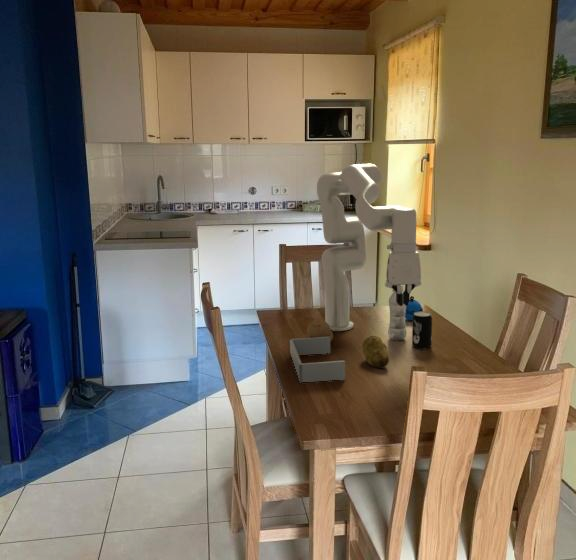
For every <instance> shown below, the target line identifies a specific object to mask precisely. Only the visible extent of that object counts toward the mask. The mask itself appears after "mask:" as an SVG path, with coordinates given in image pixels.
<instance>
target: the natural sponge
mask: <svg viewBox="0 0 576 560" xmlns="http://www.w3.org/2000/svg"><path fill="white" fill-rule="evenodd" d="M306 335H307V338H315V337H329V336H330V342H331V341H333V339H334V333H333V331H331V329H330V327H329V325H328V324H327V323H326V322H325V320H324V319H321V318H317V319H313V321H311V322H310V323H309V324H308V326H307V328H306Z"/></svg>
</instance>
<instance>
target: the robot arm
mask: <svg viewBox="0 0 576 560" xmlns="http://www.w3.org/2000/svg"><path fill="white" fill-rule="evenodd" d="M381 181H382V172H381V170H380V168H379V167H378V166H377V165H376V164H374V163H361V164H360V163H358V164H357V163H356V164H350V165H346V166H345V167H344V168H343V169H342V170H341V171H336V172H334V171H333V172H327V173H325V174H322V175H321V176H320V177H319V178H318V180H317V181H316V182H317V183H316V193H317V194H316V195H317V197H318V200H319V201H318V202H319V204H320V208H321V219H322V230H323V238H324V240H325V242H326V243H327V244H332V245H336V244H346V243H348V246H335V247H330V248H327V249H325V250H324V251H323V253H322V255H321V266H322V269H323V277H324V279H323V281H324V314H325V315H324V316H325V317H324V319H325V320H324V321H325V322H326V323H327V324H328V325H329V327H330V329H331V330H332V332H342V331H344V332H345V331H348V330H351V329H352V328H354V322H353V321H351V320H350V281H349V280H348V278H347V277H346V275H345V274H344V273H345V272H349V271H356V270H357V271H358V270H361V269H363V268H364V267H365V265H366V261H367V251H366V250H367V249H366V236H365V228H366V229H368V230H370V231H374V232H375V231H385V230H386V231H388V230H391V234H390V235H391V242H390V244H387V245H386V249H387V250H390V251H389V253H388V256H387V257H388V258H387V263H386V264H387V265H386V272H385V274H386V275H385V276H386V280H385V283H384V286H385V287H386V288H389V289H392V290H394V291H395V292H396V302H397V303H398V305H400V306H402V305H403V304H405V305H406V306H408V302H409V301H410V297H411V296H410V295H411V293H412V291H413V290H414V289H415V288H416V287H419V286H422V282H421V281H422V268H421V260H420V259H421V258H420V253H419V251H417V249H416V248H417V211H416V210H415V209H414V208H412V207H404V206H402V205H397V204H396V205H385V206H384V205H383V206H381V205H380V206H372V204H373V203H375V201H376V200H377V199H379V196H380V192H381V190H380V189H381V188H380V186H379V185H380V184H381ZM348 195H352V196H353V197H354V198H355V205H354V208H355V214H356V216H357V217H346V216H345V207H344V204H343V202H342V201H341V200H340V198H339V197H338V196H348ZM364 227H365V228H364ZM401 285H402V286H404V289H403V294H402V292H401Z"/></svg>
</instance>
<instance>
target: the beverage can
mask: <svg viewBox="0 0 576 560" xmlns="http://www.w3.org/2000/svg"><path fill="white" fill-rule="evenodd" d="M411 326H412V328H411V329H412V332H411V334H412V335H411V336H412V337H411V344H412V346H413V347H414V348H415V349H419V350H427V349H429V348H431V346H432V340H433V337H432V336H433V334H432V333H433V317H432V313H430V312H429V311H424V310H423V311H419V312H415V313H414V316H413V321H412V325H411Z"/></svg>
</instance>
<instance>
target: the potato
mask: <svg viewBox="0 0 576 560" xmlns="http://www.w3.org/2000/svg"><path fill="white" fill-rule="evenodd" d="M361 347H362V352H363V355H364V358H365V360H366V362H367V363H368V365H370V366H372V367H374V368H378V369H382V368H385V367H386V366H387V365H388V364H389V361H390V357H389V352H388V348H387V345H386V344H385V343H384V342H383V340H382V339H381V337H379V336H376V335H370V336H368V337H366V338H365V339H364V340H363V343H362V346H361Z"/></svg>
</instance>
